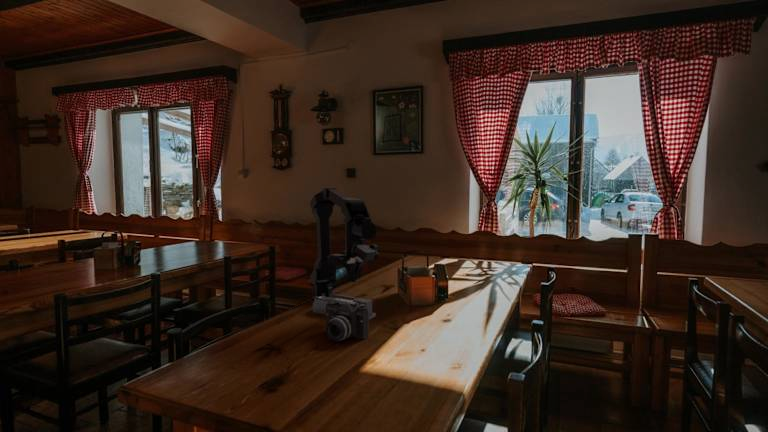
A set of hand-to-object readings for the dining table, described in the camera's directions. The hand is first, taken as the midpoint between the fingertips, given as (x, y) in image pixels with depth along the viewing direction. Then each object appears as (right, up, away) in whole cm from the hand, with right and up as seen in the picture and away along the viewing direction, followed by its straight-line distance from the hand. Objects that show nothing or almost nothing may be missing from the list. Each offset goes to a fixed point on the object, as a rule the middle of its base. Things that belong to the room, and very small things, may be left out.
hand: (353, 282), depth 154 cm
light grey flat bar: (-6, -7, +4) cm, 10 cm away
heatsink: (-7, -11, +5) cm, 14 cm away
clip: (+3, -10, -1) cm, 11 cm away
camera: (-2, -14, -21) cm, 25 cm away
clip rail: (+3, -12, 0) cm, 12 cm away
